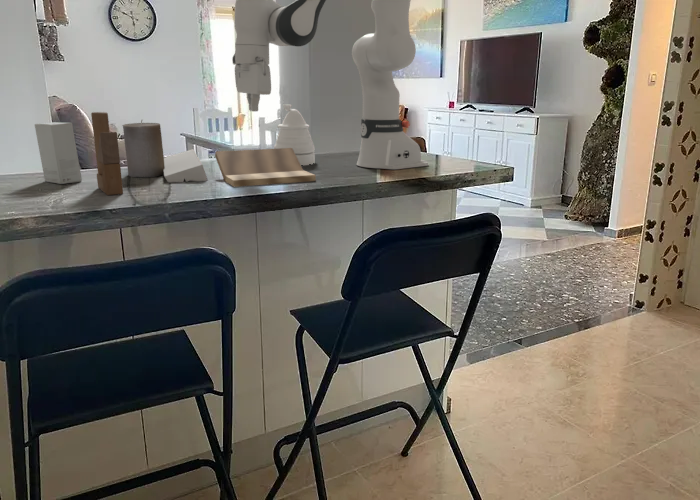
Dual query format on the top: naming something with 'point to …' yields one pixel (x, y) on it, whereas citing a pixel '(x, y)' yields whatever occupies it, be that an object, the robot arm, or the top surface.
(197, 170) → the decorative molding
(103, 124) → the wooden block
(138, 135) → the pillar candle
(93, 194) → the top surface
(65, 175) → the skincare box
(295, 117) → the honey pot
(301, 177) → the laid oak board
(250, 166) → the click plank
